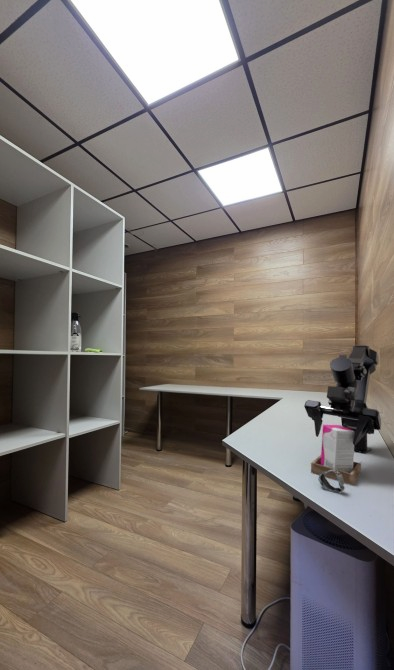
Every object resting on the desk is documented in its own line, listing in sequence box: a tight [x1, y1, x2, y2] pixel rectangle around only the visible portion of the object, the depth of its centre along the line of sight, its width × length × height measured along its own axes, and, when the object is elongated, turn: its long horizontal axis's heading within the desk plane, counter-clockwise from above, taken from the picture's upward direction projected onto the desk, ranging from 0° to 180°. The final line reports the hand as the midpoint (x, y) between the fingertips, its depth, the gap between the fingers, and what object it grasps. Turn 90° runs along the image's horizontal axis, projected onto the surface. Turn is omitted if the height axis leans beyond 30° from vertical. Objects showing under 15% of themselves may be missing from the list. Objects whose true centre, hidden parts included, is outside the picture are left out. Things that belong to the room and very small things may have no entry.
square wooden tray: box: [310, 454, 362, 486], centre depth 72 cm, size 10×10×2 cm
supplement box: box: [320, 424, 355, 473], centre depth 73 cm, size 6×6×12 cm
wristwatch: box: [317, 469, 346, 494], centre depth 63 cm, size 3×5×5 cm
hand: (334, 439), depth 72 cm, fingers open, 9 cm apart
